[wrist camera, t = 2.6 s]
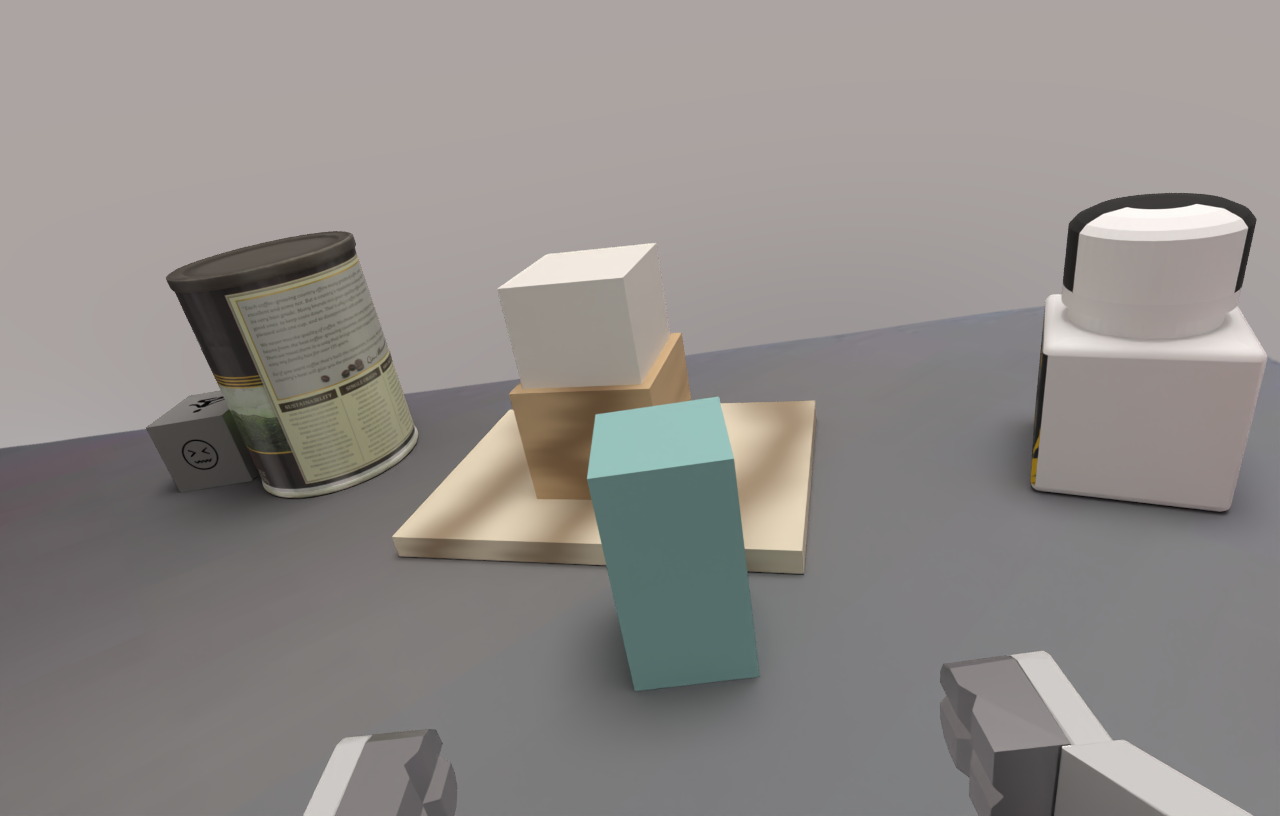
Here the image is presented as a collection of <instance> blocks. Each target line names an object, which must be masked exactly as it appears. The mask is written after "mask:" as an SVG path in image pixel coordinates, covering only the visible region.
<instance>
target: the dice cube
mask: <svg viewBox="0 0 1280 816" xmlns="http://www.w3.org/2000/svg"><path fill="white" fill-rule="evenodd" d="M146 429H147V431H148V433H149V435H150V437H151V439H152V440H153V442H154V444H155V446H156V448H157V450H158V452H159V454H160V456H161V457H162V459H163V461H164V463H165V465H166V467H167V469H168V471H169V473H170V474H171V476H172V478H173V480H174V482H175V484H176V486H177V488H178V490H179V491H180V493H182V492H188V491H194V490H200V489H206V488H212V487H219V486H225V485H231V484H237V483H243V482H250V481H253V480H254V479H255V478H256V477H257V476H258V475H259V472H258V470H257V468H256V466H255V463H254V461H253V459H252V457H251V455H250V453H249V450H248V448H247V446H246V444H245V442H244V440H243V438H242V436H241V434H240V431H239V429H238V427H237V425H236V422H235V420H234V418H233V416H232V414H231V411H230V409H229V407H228V405H227V403H226V401H225V399H224V396H223V394H222V392H221V391H215V392H209V393H203V394H197V395H191V396H188V397H187V398H186V399H184V400H183V401H182V402H180V403H179V404H178V405H176V406H175V407H174V408H172V409H171V410H170V411H168V412H167V413H165V414H164V415H163V416H161V417H160V418H159V419H157V420H156V421H155V422H153V423H152V424H150V425H149V426H148V427H146Z"/></svg>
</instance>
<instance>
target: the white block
mask: <svg viewBox="0 0 1280 816" xmlns="http://www.w3.org/2000/svg"><path fill="white" fill-rule="evenodd" d="M497 290H498V294H499V298H500V302H501V306H502V310H503V314H504V318H505V322H506V325H507V329H508V333H509V337H510V341H511V345H512V349H513V353H514V357H515V361H516V365H517V368H518V372H519V376H520V380H521V384H522V388H523V389H538V388H563V387H588V386H613V385H638V384H642V383H643V381H644V380H645V378H646V376H647V375H648V373H649V371H650V370H651V368H652V366H653V365H654V363H655V361H656V360H657V358H658V356H659V355H660V353H661V351H662V350H663V348H664V346H665V345H666V343H667V342H668V340H669V338H670V331H669V324H668V317H667V310H666V304H665V297H664V291H663V285H662V277H661V271H660V264H659V257H658V251H657V244H656V243H651V244H641V245H632V246H622V247H612V248H603V249H593V250H583V251H574V252H564V253H555V254H547V255H545V256H544V257H542V258H541V259H539V260H538V261H536V262H535V263H534V264H532V265H531V266H530V267H528V268H526V269H525V270H523V271H522V272H521V273H519V274H518V275H516V276H515V277H513V278H512V279H511V280H509V281H508V282H506V283H505V284H503V285H502V286H501V287H499V288H498V289H497Z"/></svg>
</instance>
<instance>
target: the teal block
mask: <svg viewBox="0 0 1280 816" xmlns="http://www.w3.org/2000/svg"><path fill="white" fill-rule="evenodd" d="M587 482H588V486H589V491H590V495H591V500H592V504H593V508H594V513H595V517H596V522H597V526H598V530H599V535H600V539H601V544H602V548H603V553H604V557H605V561H606V566H607V570H608V575H609V579H610V584H611V588H612V592H613V597H614V601H615V606H616V610H617V615H618V619H619V623H620V628H621V632H622V637H623V641H624V646H625V650H626V654H627V659H628V663H629V668H630V672H631V677H632V681H633V685H634V690H635V691H641V690H649V689H658V688H666V687H675V686H683V685H692V684H701V683H709V682H718V681H726V680H735V679H743V678H752V677H760V675H759V666H758V658H757V649H756V641H755V632H754V624H753V615H752V607H751V598H750V590H749V581H748V573H747V564H746V556H745V547H744V539H743V530H742V522H741V513H740V505H739V496H738V488H737V479H736V471H735V462H734V456H733V452H732V448H731V444H730V440H729V436H728V432H727V428H726V424H725V420H724V416H723V412H722V408H721V404H720V400H719V397H713V398H706V399H699V400H692V401H685V402H678V403H671V404H665V405H658V406H651V407H644V408H637V409H630V410H623V411H616V412H610V413H603V414H596V415H595V423H594V430H593V437H592V445H591V452H590V460H589V467H588V474H587Z"/></svg>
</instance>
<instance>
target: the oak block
mask: <svg viewBox="0 0 1280 816" xmlns="http://www.w3.org/2000/svg"><path fill="white" fill-rule="evenodd" d="M509 395H510V399H511V403H512V407H513V410H514V414H515V418H516V422H517V426H518V429H519V433H520V437H521V441H522V444H523V448H524V452H525V456H526V459H527V463H528V467H529V471H530V474H531V478H532V482H533V486H534V489H535V493H536V497H537V499H573V500H591V495H590V491H589V486H588V482H587V474H588V467H589V460H590V452H591V445H592V437H593V430H594V423H595V415H596V414H603V413H610V412H616V411H623V410H630V409H637V408H644V407H651V406H658V405H665V404H671V403H678V402H685V401H691V396H690V389H689V382H688V375H687V368H686V361H685V354H684V346H683V340H682V333H670V338H669V340H668V342H667V343H666V345H665V346H664V348H663V350H662V351H661V353H660V355H659V356H658V358H657V360H656V361H655V363H654V365H653V366H652V368H651V370H650V371H649V373H648V375H647V376H646V378H645V380H644V381H643V383H642V384H638V385H613V386H588V387H563V388H538V389H523V388H522V384H521V382H520V383H519V384H518V385H517V386H516V387H515V388H514V389H513V390H512V391H511V393H510V394H509Z"/></svg>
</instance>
